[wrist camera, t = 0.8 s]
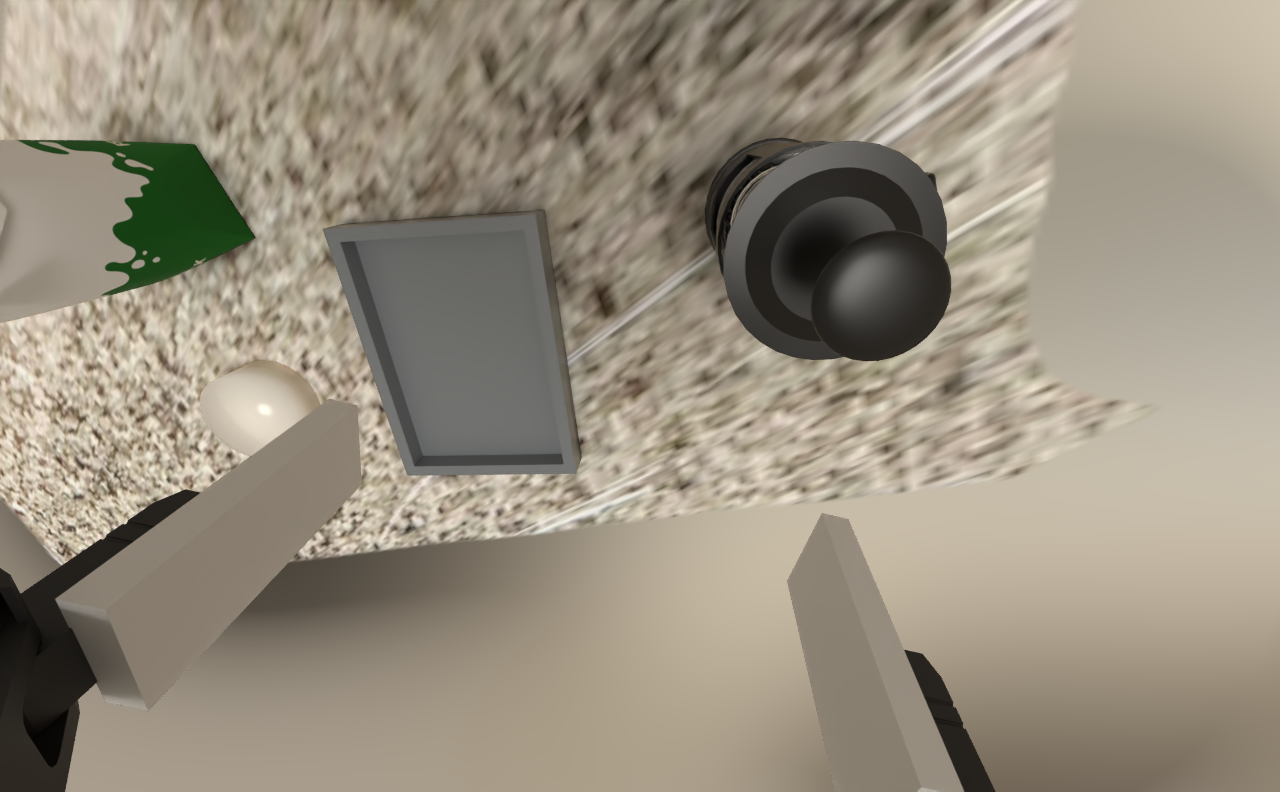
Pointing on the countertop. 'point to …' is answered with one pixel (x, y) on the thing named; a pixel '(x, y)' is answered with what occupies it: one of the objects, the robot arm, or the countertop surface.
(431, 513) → the countertop surface
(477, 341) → the tray
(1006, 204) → the countertop surface
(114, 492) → the countertop surface
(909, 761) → the robot arm
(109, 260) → the soya milk
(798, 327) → the french press
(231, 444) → the cream glossy pebble
